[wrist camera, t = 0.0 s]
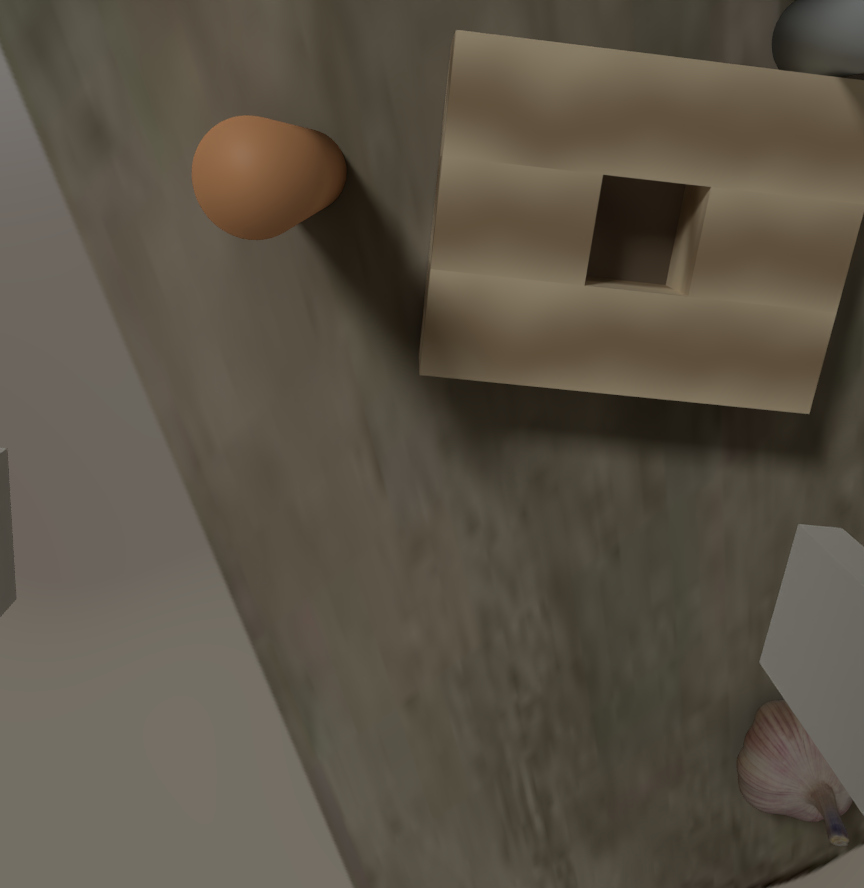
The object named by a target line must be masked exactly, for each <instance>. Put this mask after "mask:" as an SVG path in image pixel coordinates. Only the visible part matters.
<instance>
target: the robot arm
mask: <svg viewBox="0 0 864 888" xmlns="http://www.w3.org/2000/svg"><path fill="white" fill-rule="evenodd" d="M14 569H15V568H14V551H13V535H12V519H11V502H10V485H9V468H8V452H7V448H0V616H2V614H3V613H4V612H5V611H6V610H7V609H8V608H9V606H11V604H12V603H13V602H14V601H15V600H16V585H15V570H14ZM759 663H760V664H761V666H762V667H763V669H764V670H765V672H766V673H767V674H768V676H769V677H770V679H771V680H772V682H773V683H774V685H775V686H776V688H777V689H778V691H779V692H780V694H781V695H782V697H783V698H784V699H785V701H786V702H787V704H788V705H789V707H790V708H791V710H792V711H793V713H794V714H795V716H796V717H797V719H798V720H799V721H800V723H801V724H802V726H803V727H804V729H805V730H806V732H807V733H808V735H809V736H810V738H811V739H812V741H813V742H814V744H815V745H816V746H817V748H818V749H819V751H820V752H821V754H822V755H823V757H824V758H825V760H826V761H827V763H828V764H829V766H830V767H831V768H832V770H833V771H834V773H835V774H836V776H837V777H838V779H839V780H840V782H841V783H842V785H843V786H844V788H845V789H846V791H847V792H848V793H849V795H850V796H851V798H852V799H853V801H854V802H855V804H856V805H857V807H858V808H859V810H860V811H861V813H862V814H863V815H864V547H863V546H862V545H861V544H860V543H858V542H857V541H856V540H855V539H854V538H853V537H852V536H850V535H849V534H848V533H847V532H846V531H845V530H844V529H842V528H835V527H824V526H814V525H803V524H798V527H797V531H796V535H795V538H794V542H793V545H792V549H791V552H790V556H789V559H788V563H787V566H786V570H785V574H784V577H783V581H782V584H781V588H780V591H779V595H778V598H777V602H776V605H775V609H774V613H773V616H772V620H771V623H770V627H769V630H768V634H767V637H766V641H765V644H764V648H763V652H762V655H761V659H760V662H759Z"/></svg>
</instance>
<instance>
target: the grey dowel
mask: <svg viewBox="0 0 864 888" xmlns="http://www.w3.org/2000/svg"><path fill="white" fill-rule="evenodd" d="M772 52H773V57H774V60H775V62H776V64H777V66H778V68H779V69H780V70H784V71H793V72H801V73H809V74H817V75H825V76H833V77H844V76H850V75H855V74H861V73H864V0H796V1H795V2H793V3H792V4H791V5H790V6H789V7H787V9H786V10H785V11H784V12H783V13H782V15H781V16H780V18H779V20H778V22H777V24H776V26H775V29H774V32H773V37H772Z"/></svg>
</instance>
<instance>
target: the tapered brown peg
mask: <svg viewBox="0 0 864 888" xmlns="http://www.w3.org/2000/svg"><path fill="white" fill-rule="evenodd" d="M346 175H347V169H346V163H345V159H344V156H343V154H342V152H341V150H340V148H339V147H338V145H337V144H336V143H335V142H334V141H333V140H332V139H331V138H330V137H328V136H327V135H325V134H323V133H321V132H319V131H316V130H312V129H308V128H304V127H300V126H296V125H291V124H287V123H283V122H279V121H275V120H271V119H267V118H263V117H258V116H248V115H245V116H237V117H232V118H229V119H227V120H224V121H222V122H220V123H219V124H217V125H216V126H214V127H213V128H212V129H211V130H209V132H208V133H207V134H206V135H205V136H204V137H203V139H202V140H201V142H200V143H199V145H198V147H197V149H196V152H195V155H194V159H193V164H192V182H193V188H194V192H195V195H196V198H197V200H198V202H199V204H200V206H201V208H202V209H203V211H204V212H205V214H206V215H207V216H208V218H209V219H210V220H211V221H212V222H213V223H214V224H215V225H217V226H218V227H219V228H220V229H222V230H224V231H225V232H227V233H229V234H231V235H233V236H236V237H239V238H243V239H248V240H263V239H268V238H272V237H275V236H278V235H280V234H282V233H284V232H285V231H287V230H289V229H290V228H292V227H294V226H295V225H297V224H299V223H300V222H302V221H304V220H305V219H307V218H309V217H310V216H312V215H314V214H315V213H317V212H319V211H320V210H322V209H324V208H325V207H327V206H329V205H330V204H331V203H333V202H334V201H335V200H336V199H337V198H338V196H339V195H340V194H341V192H342V190H343V188H344V185H345V181H346Z"/></svg>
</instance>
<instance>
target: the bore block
mask: <svg viewBox="0 0 864 888" xmlns="http://www.w3.org/2000/svg"><path fill="white" fill-rule="evenodd" d="M863 213H864V80H857V79H849V78H841V77H833V76H825V75H817V74H809V73H801V72H793V71H784V70H776V69H768V68H760V67H752V66H744V65H736V64H728V63H720V62H712V61H704V60H696V59H688V58H679V57H671V56H663V55H655V54H647V53H639V52H631V51H623V50H615V49H607V48H599V47H591V46H583V45H574V44H566V43H558V42H550V41H542V40H534V39H526V38H518V37H510V36H502V35H494V34H486V33H478V32H470V31H461V30H456V32H455V35H454V38H453V41H452V44H451V51H450V61H449V70H448V80H447V89H446V99H445V108H444V118H443V127H442V137H441V146H440V156H439V165H438V175H437V184H436V194H435V203H434V213H433V222H432V232H431V241H430V251H429V260H428V269H427V279H426V288H425V298H424V307H423V317H422V326H421V336H420V345H419V375H424V376H434V377H444V378H454V379H464V380H474V381H484V382H494V383H504V384H514V385H524V386H534V387H544V388H554V389H564V390H574V391H584V392H594V393H604V394H614V395H624V396H634V397H644V398H654V399H664V400H674V401H683V402H693V403H703V404H713V405H723V406H733V407H743V408H753V409H763V410H773V411H783V412H793V413H803V414H809V413H810V409H811V406H812V402H813V398H814V395H815V391H816V387H817V383H818V380H819V376H820V372H821V369H822V365H823V361H824V358H825V354H826V350H827V346H828V343H829V339H830V335H831V332H832V328H833V324H834V321H835V317H836V313H837V309H838V306H839V302H840V298H841V295H842V291H843V287H844V284H845V280H846V276H847V272H848V269H849V265H850V261H851V258H852V254H853V250H854V247H855V243H856V239H857V236H858V232H859V228H860V224H861V221H862V217H863Z"/></svg>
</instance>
